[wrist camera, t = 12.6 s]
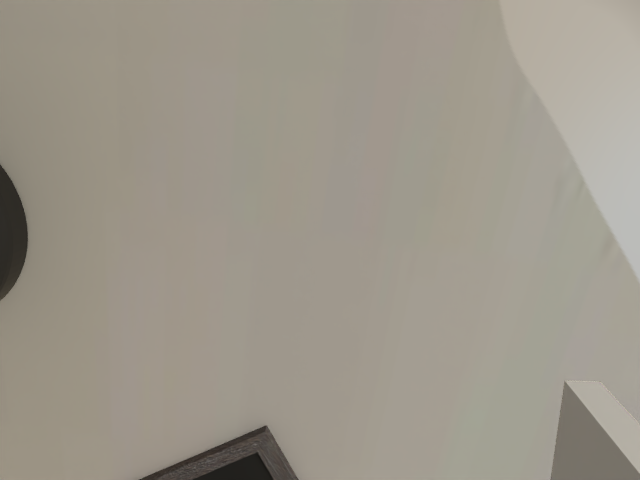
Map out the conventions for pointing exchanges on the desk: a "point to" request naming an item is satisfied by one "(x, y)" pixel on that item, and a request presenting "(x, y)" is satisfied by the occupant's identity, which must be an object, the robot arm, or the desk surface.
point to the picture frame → (234, 461)
